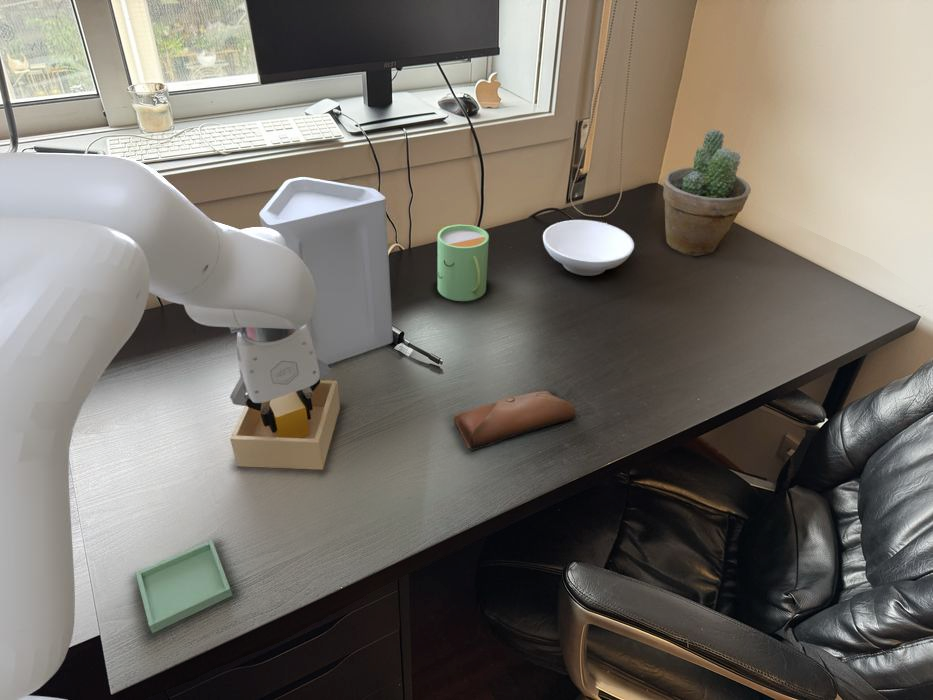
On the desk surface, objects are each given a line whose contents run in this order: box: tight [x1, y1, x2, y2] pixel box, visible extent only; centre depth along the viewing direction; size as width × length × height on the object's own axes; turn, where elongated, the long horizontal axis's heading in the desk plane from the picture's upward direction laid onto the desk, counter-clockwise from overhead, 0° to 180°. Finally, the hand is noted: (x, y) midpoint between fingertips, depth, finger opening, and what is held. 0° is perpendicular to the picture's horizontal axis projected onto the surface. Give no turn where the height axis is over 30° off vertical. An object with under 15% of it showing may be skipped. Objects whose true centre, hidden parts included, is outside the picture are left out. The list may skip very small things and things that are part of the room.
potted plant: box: [662, 129, 752, 257], centre depth 143 cm, size 18×19×25 cm
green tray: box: [135, 539, 233, 634], centre depth 76 cm, size 9×8×2 cm
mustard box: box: [270, 392, 310, 438], centre depth 95 cm, size 4×4×6 cm
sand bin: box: [229, 379, 341, 471], centre depth 96 cm, size 13×12×6 cm
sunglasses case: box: [453, 390, 576, 451], centre depth 100 cm, size 18×7×7 cm
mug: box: [435, 224, 490, 302], centre depth 128 cm, size 13×10×12 cm
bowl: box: [542, 219, 635, 277], centre depth 139 cm, size 20×20×7 cm
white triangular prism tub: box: [258, 176, 394, 366], centre depth 109 cm, size 19×15×28 cm
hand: (288, 419), depth 95 cm, fingers closed on mustard box, 4 cm apart
